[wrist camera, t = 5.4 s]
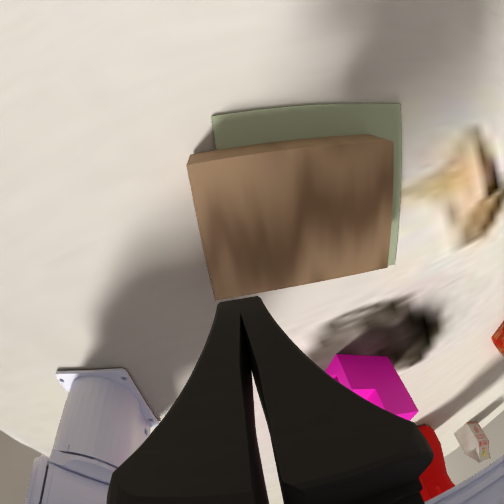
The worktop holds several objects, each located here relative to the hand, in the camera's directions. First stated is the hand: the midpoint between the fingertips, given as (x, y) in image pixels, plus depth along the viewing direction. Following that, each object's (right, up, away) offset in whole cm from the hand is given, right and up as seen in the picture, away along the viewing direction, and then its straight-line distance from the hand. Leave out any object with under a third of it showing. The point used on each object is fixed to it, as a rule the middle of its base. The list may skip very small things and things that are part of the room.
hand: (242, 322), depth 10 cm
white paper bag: (+46, -35, +37) cm, 68 cm away
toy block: (+9, -14, +21) cm, 26 cm away
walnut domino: (-3, +4, +7) cm, 9 cm away
